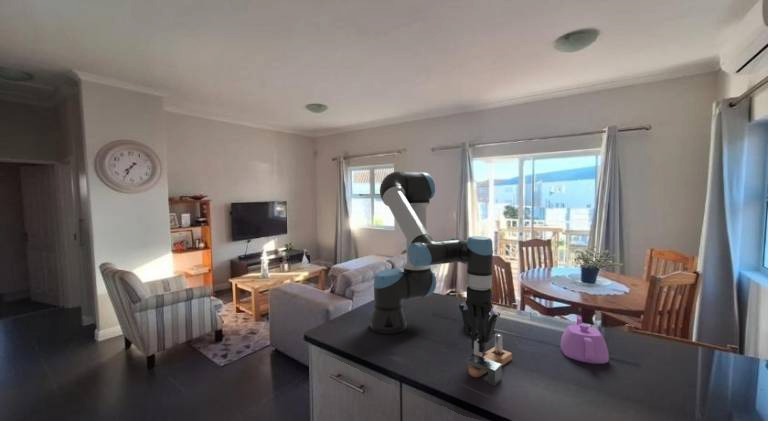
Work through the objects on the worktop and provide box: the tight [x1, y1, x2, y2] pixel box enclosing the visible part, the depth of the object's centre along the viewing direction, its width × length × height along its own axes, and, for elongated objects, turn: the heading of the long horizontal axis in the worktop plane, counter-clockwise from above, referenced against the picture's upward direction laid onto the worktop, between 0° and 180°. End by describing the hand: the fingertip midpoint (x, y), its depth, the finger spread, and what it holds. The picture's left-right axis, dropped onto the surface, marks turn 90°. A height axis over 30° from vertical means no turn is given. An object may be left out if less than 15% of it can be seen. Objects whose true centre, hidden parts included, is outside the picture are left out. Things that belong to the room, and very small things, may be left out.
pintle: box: [494, 333, 503, 356], centre depth 102 cm, size 2×2×8 cm
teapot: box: [560, 315, 610, 365], centre depth 105 cm, size 13×20×11 cm
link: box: [468, 346, 513, 378], centre depth 98 cm, size 18×6×2 cm, turn 130°
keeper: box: [465, 353, 503, 387], centre depth 92 cm, size 9×4×5 cm, turn 46°
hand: (477, 360), depth 99 cm, fingers closed
